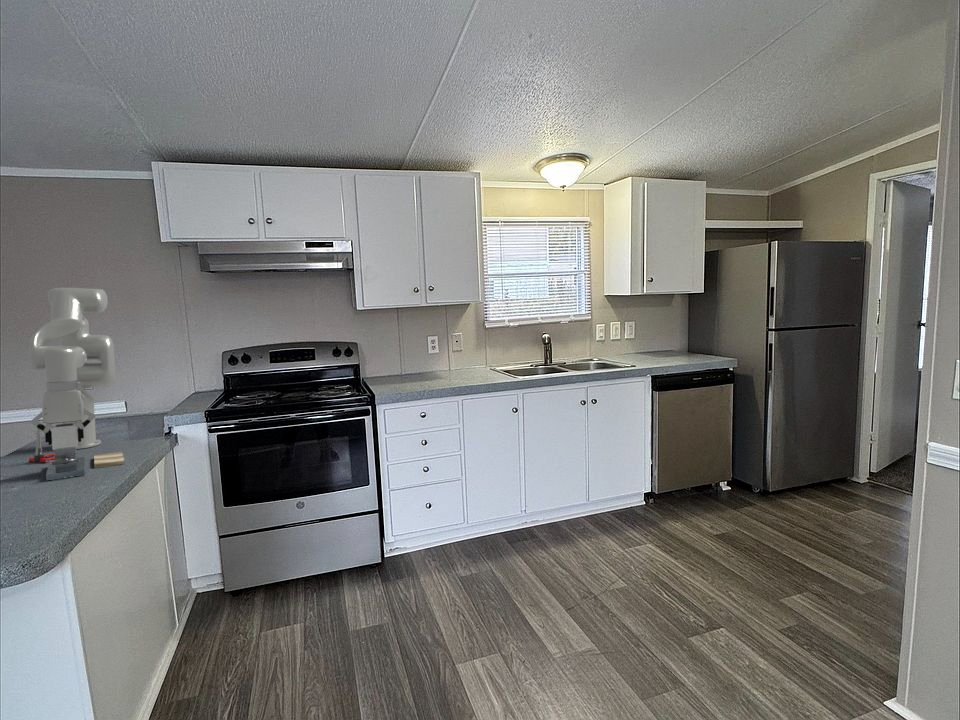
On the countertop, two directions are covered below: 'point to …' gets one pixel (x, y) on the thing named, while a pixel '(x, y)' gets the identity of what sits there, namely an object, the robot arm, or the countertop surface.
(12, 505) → the countertop surface
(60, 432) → the white hollow square block
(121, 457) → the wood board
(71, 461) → the grey peg stand
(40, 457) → the tow hook
